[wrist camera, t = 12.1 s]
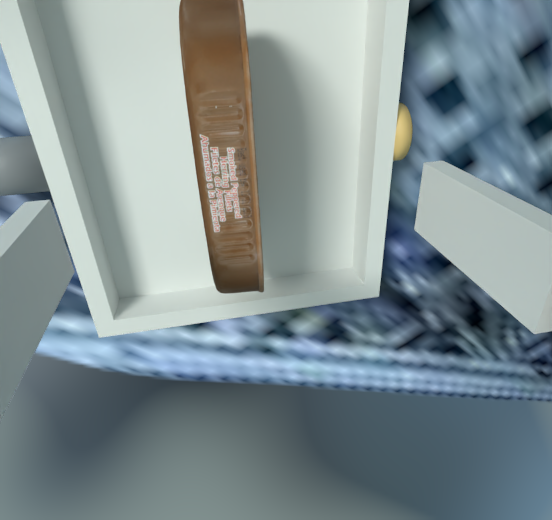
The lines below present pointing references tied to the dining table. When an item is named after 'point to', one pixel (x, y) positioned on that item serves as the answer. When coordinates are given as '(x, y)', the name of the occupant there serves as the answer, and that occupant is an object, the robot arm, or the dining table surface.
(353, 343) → the dining table surface
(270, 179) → the white square dish
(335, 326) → the dining table surface
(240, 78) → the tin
